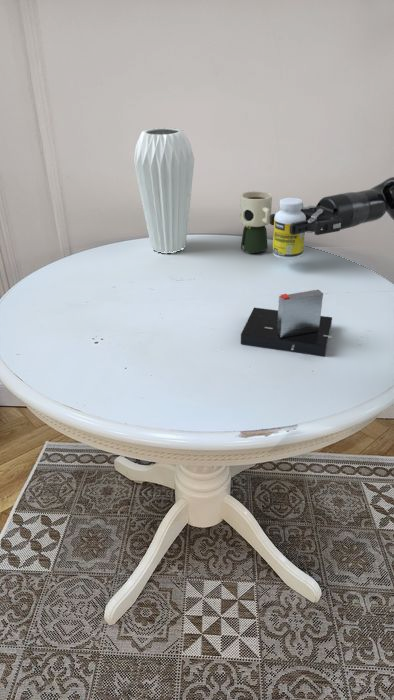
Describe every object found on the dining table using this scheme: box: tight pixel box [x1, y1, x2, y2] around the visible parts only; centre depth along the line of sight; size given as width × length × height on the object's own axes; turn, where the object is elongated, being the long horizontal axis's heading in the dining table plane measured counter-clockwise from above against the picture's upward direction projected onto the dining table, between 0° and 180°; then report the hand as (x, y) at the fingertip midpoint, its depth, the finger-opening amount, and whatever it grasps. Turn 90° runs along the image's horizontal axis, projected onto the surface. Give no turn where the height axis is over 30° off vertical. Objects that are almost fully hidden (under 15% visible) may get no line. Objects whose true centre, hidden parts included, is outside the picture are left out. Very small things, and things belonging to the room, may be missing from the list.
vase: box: [133, 127, 195, 253], centre depth 120 cm, size 13×13×26 cm
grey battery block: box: [277, 289, 324, 338], centre depth 87 cm, size 7×2×7 cm, turn 107°
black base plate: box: [240, 306, 333, 357], centre depth 90 cm, size 15×13×2 cm
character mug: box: [239, 190, 273, 254], centre depth 122 cm, size 11×7×13 cm, turn 26°
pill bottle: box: [272, 197, 306, 260], centre depth 112 cm, size 6×6×12 cm
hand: (280, 224), depth 110 cm, fingers closed on pill bottle, 6 cm apart
